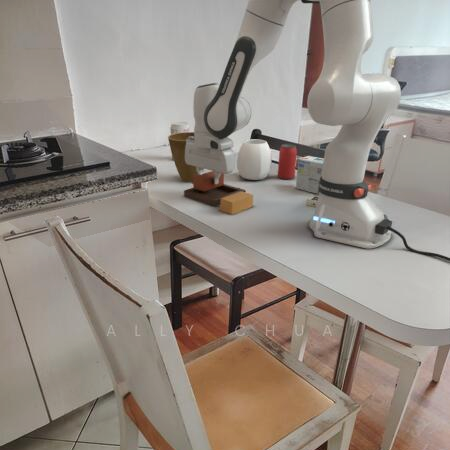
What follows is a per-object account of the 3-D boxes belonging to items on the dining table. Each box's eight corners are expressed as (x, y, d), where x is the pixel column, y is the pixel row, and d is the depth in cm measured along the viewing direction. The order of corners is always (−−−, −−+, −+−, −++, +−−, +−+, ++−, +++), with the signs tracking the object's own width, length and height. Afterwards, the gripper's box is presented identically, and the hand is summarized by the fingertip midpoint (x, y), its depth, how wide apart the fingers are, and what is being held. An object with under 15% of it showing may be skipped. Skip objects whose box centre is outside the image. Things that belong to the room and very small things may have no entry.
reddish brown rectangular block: (223, 184, 143) (223, 173, 141) (203, 191, 137) (203, 179, 135) (213, 182, 146) (213, 170, 144) (193, 188, 140) (192, 176, 138)
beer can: (293, 180, 158) (297, 147, 151) (276, 179, 159) (279, 147, 152) (294, 175, 163) (297, 144, 157) (278, 174, 164) (280, 143, 158)
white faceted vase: (262, 171, 168) (264, 137, 160) (276, 180, 157) (278, 144, 150) (232, 174, 164) (232, 139, 157) (243, 184, 154) (245, 146, 146)
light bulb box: (330, 190, 147) (334, 160, 141) (320, 195, 143) (324, 163, 137) (305, 184, 153) (308, 154, 148) (294, 188, 149) (297, 158, 143)
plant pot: (190, 172, 167) (188, 130, 158) (217, 179, 159) (217, 135, 150) (162, 180, 157) (159, 135, 149) (190, 188, 149) (188, 141, 141)
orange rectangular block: (252, 206, 133) (253, 194, 131) (232, 214, 127) (232, 202, 125) (241, 202, 136) (241, 191, 134) (220, 210, 130) (220, 198, 128)
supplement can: (174, 156, 188) (172, 121, 180) (192, 157, 188) (191, 122, 179) (170, 161, 182) (168, 124, 174) (188, 161, 181) (187, 125, 173)
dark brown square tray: (245, 195, 142) (245, 189, 141) (215, 206, 133) (215, 200, 132) (214, 186, 151) (214, 181, 150) (184, 196, 141) (183, 190, 140)
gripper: (179, 136, 137) (181, 177, 145) (224, 145, 126) (224, 190, 133) (193, 133, 141) (194, 174, 149) (237, 142, 130) (236, 185, 137)
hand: (208, 181), depth 141 cm, fingers closed on reddish brown rectangular block, 5 cm apart
